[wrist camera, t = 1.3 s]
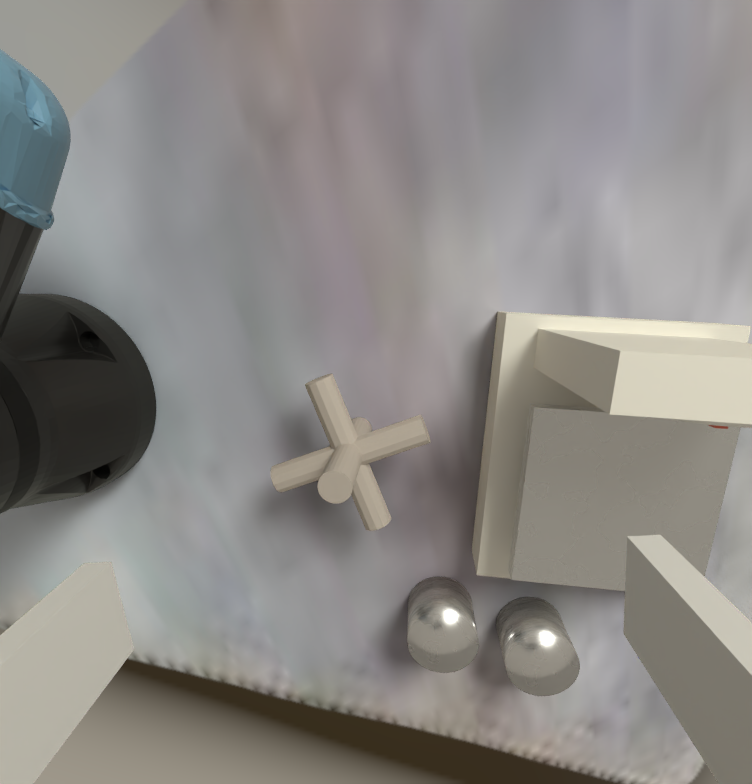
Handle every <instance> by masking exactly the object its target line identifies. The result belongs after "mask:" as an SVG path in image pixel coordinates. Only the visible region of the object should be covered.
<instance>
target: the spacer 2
mask: <svg viewBox="0 0 752 784" xmlns="http://www.w3.org/2000/svg"><path fill="white" fill-rule="evenodd" d="M496 630H497V634H498V638H499V642H500V646H501V650H502V655H503V659H504V663H505V667H506V671H507V674H508V677H509V679H510V680H511V682H512V683H513V684H514V685H515V686H516V687H517V688H519V689H520V690H522V691H524V692H526V693H528V694H532V695H537V696H549V695H554V694H558V693H560V692H562V691H564V690H566V689H567V688H569V687H570V686H571V685H572V684H573V683H574V682H575V680H576V678H577V676H578V674H579V669H580V662H579V658H578V656H577V653H576V651H575V649H574V647H573V644H572V642H571V640H570V638H569V635H568V633H567V631H566V629H565V627H564V624H563V622H562V620H561V618H560V615H559V613H558V612H557V610H556V609H555V608H554V607H553V606H552V605H551V604H550V603H548V602H546V601H545V600H542V599H539V598H535V597H522V598H518V599H515V600H513V601H511V602H509V603H507V604H506V605H505V606H504V607H503V608H502V609H501V610H500V612H499V614H498V616H497V619H496Z"/></svg>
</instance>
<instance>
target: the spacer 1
mask: <svg viewBox="0 0 752 784" xmlns="http://www.w3.org/2000/svg"><path fill="white" fill-rule="evenodd" d="M407 644H408V649H409V652H410V654H411V655H412V657H413V658H414V659H415V661H416V662H417V663H419V664H420V665H421V666H423V667H424V668H426V669H429V670H431V671H435V672H441V673H449V672H455V671H458V670H460V669H463V668H464V667H466V666H467V665H469V664H470V663H471V662H472V661H473V659H474V658H475V656H476V654H477V652H478V647H479V641H478V634H477V629H476V623H475V618H474V612H473V607H472V601H471V597H470V595H469V593H468V591H467V590H466V589H465V587H464V586H463V585H462V584H460V583H459V582H457V581H455V580H453V579H451V578H447V577H430V578H427V579H425V580H422V581H421V582H419V583H418V584H417V585H416V586H415V587H414V588H413V589H412V591H411V593H410V595H409V600H408V630H407Z"/></svg>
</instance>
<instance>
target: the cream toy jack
mask: <svg viewBox="0 0 752 784" xmlns="http://www.w3.org/2000/svg"><path fill="white" fill-rule="evenodd" d="M305 386H306V389H307V391H308V393H309V396H310V398H311V400H312V403H313V405H314V407H315V410H316V412H317V415H318V417H319V419H320V422H321V424H322V426H323V429H324V431H325V434H326V436H327V438H328V441H329V443H330V445H331V446H329V447H326V448H323V449H320V450H318V451H315V452H312V453H309V454H306V455H303V456H300V457H297V458H294V459H292V460H289V461H286V462H283V463H280V464H277V465H274V466H272V468H271V479H272V482H273V485H274V487H275V488H276V490H277V491H279V492H280V493H282V492H284V491H287V490H290V489H293V488H296V487H299V486H302V485H305V484H308V483H311V482H314V481H317V480H319V481H318V492H319V494H320V496H321V497H322V498H323V499H324V500H326V501H327V502H330V503H335V504H338V503H342V502H344V501H346V500H347V499H348V498H349V497H350V495H352V497H353V500H354V502H355V505H356V507H357V509H358V512H359V514H360V516H361V519H362V521H363V523H364V526H365V528H366V530H369V531H374V530H378V529H380V528H383V527H384V526H386V525H387V524H388V523H389V522H390V520H391V516H390V514H389V511H388V509H387V506H386V504H385V501H384V499H383V497H382V494H381V492H380V489H379V487H378V484H377V482H376V479H375V477H374V475H373V472H372V470H371V467H370V465H369V463H371V462H374V461H377V460H380V459H383V458H386V457H389V456H392V455H395V454H398V453H401V452H404V451H407V450H410V449H413V448H416V447H419V446H422V445H425V444H428V443H430V437H429V434H428V431H427V428H426V425H425V423H424V420H423V418H422V416H421V415H418V416H415V417H413V418H410V419H407V420H404V421H401V422H398V423H395V424H392V425H390V426H387V427H384V428H381V429H378V430H375V431H372V427H371V425H370V423H369V422H368V421H367V420H366V419H364V418H360V417H358V418H354V419H352V420H351V418H350V416H349V413H348V411H347V409H346V406H345V404H344V401H343V399H342V396H341V394H340V391H339V389H338V387H337V384H336V382H335V379H334V377H333V374H328V375H325V376H322V377H319V378H317V379H314V380H312V381H310V382H308V383H306V384H305Z"/></svg>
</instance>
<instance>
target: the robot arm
mask: <svg viewBox="0 0 752 784" xmlns="http://www.w3.org/2000/svg"><path fill="white" fill-rule="evenodd" d="M70 141H71V139H70V128H69V123H68V120H67V117H66V114H65V112H64V110H63V108H62V106H61V105H60V103H59V101H58V100H57V98H56V97H55V95H54V94H53V93H52V91H51V90H50V89H49V88H48V87H47V86H46V85H45V84H44V83H43V82H42V81H41V80H40V79H39V78H38V77H36V76H35V75H34V74H33V73H32V72H30V71H29V70H28V69H26V68H25V67H24V66H22V65H21V64H20V63H18V62H17V61H16V60H14V59H13V58H11V57H10V56H9V55H8V54H6V53H5V52H4V51H2V50H1V49H0V514H1V513H3V512H5V511H7V510H9V509H12V508H18V507H23V506H28V505H34V504H39V503H45V502H50V501H56V500H61V499H67V498H72V497H77V496H81V495H84V494H87V493H90V492H92V491H95V490H97V489H99V488H101V487H103V486H105V485H106V484H108V483H110V482H111V481H113V480H115V479H116V478H118V477H119V476H121V475H123V474H124V473H125V472H127V471H128V470H129V469H130V468H131V467H133V466H134V465H135V463H136V462H137V461H138V460H139V459H140V457H141V456H142V455H143V453H144V451H145V450H146V448H147V446H148V444H149V441H150V439H151V436H152V433H153V429H154V424H155V417H156V399H155V392H154V386H153V382H152V379H151V375H150V372H149V370H148V367H147V365H146V363H145V361H144V358H143V357H142V355H141V353H140V351H139V350H138V348H137V347H136V345H135V344H134V342H133V341H132V340H131V338H130V337H129V336H128V335H127V334H126V332H125V331H124V330H123V329H122V328H121V327H120V326H119V325H118V324H117V323H116V322H114V321H113V320H112V319H111V318H110V317H108V316H107V315H106V314H104V313H103V312H101V311H100V310H98V309H96V308H95V307H93V306H91V305H89V304H87V303H84V302H82V301H80V300H77V299H74V298H70V297H66V296H61V295H54V294H19V291H20V289H21V286H22V284H23V281H24V279H25V276H26V273H27V271H28V268H29V266H30V263H31V260H32V258H33V255H34V253H35V250H36V248H37V245H38V242H39V240H40V237H41V235H42V232H43V229H45V230H47V229H49V228H51V226H52V224H53V222H54V216H53V213H52V211H51V209H52V205H53V202H54V199H55V195H56V192H57V189H58V185H59V182H60V179H61V175H62V172H63V169H64V165H65V162H66V159H67V155H68V152H69V148H70ZM624 635H625V637H626V638H627V640H628V641H629V643H630V645H631V646H632V648H633V649H634V651H635V652H636V654H637V656H638V657H639V659H640V660H641V662H642V663H643V665H644V667H645V668H646V670H647V671H648V673H649V674H650V676H651V678H652V679H653V681H654V682H655V684H656V686H657V687H658V689H659V690H660V692H661V693H662V695H663V697H664V698H665V700H666V701H667V703H668V704H669V706H670V708H671V709H672V711H673V712H674V714H675V715H676V717H677V719H678V720H679V722H680V723H681V725H682V727H683V728H684V730H685V731H686V733H687V734H688V736H689V738H690V739H691V741H692V742H693V744H694V745H695V747H696V749H697V750H698V752H699V753H700V755H701V756H702V758H703V760H704V761H705V763H706V764H707V766H708V767H709V769H710V770H711V772H712V774H713V775H714V777H715V778H716V780H717V782H718V783H719V784H752V622H751V621H750V620H749V619H747V618H746V617H745V616H744V615H743V614H742V613H741V612H740V611H739V610H738V609H737V608H736V607H735V606H734V605H733V604H732V603H731V602H730V601H729V600H728V599H727V598H726V597H725V596H724V595H723V594H722V593H720V592H719V591H718V590H717V589H716V588H715V587H714V586H713V585H712V584H711V583H710V582H709V581H708V580H707V579H706V578H705V577H704V576H703V575H702V574H701V573H700V572H699V571H698V570H697V569H696V568H695V567H694V566H692V565H691V564H690V563H689V562H688V561H687V560H686V559H685V558H684V557H683V556H682V555H681V554H680V553H679V552H678V551H677V550H676V549H675V548H674V547H673V546H672V545H671V544H670V543H669V542H668V541H667V540H665V539H664V538H663V537H662V536H661V535H645V536H627V554H626V581H625V608H624ZM133 650H134V647H133V643H132V639H131V636H130V632H129V628H128V624H127V620H126V616H125V613H124V609H123V605H122V601H121V597H120V593H119V590H118V586H117V582H116V578H115V574H114V570H113V567H112V563H111V562H99V563H84V564H83V565H81V566H80V567H79V568H78V569H77V570H76V571H75V572H73V573H72V574H71V575H70V576H69V577H68V578H66V579H65V580H64V581H63V582H62V583H61V584H59V585H58V586H57V587H56V588H55V589H54V590H52V591H51V592H50V593H49V594H48V595H47V596H45V597H44V598H43V599H42V600H41V601H40V602H39V603H37V604H36V605H35V606H34V607H33V608H32V609H30V610H29V611H28V612H27V613H26V614H25V615H23V616H22V617H21V618H20V619H19V620H18V621H16V622H15V623H14V624H13V625H12V626H11V627H9V628H8V629H7V630H6V631H5V632H4V633H3V634H1V635H0V784H34V782H35V781H36V780H37V778H38V777H39V776H40V774H41V773H42V772H43V770H44V769H45V768H46V766H47V765H48V764H49V762H50V761H51V760H52V758H53V757H54V756H55V754H56V753H57V751H58V750H59V749H60V748H61V746H62V745H63V743H64V742H65V741H66V740H67V738H68V737H69V736H70V734H71V733H72V732H73V730H74V729H75V728H76V726H77V725H78V723H79V722H80V721H81V720H82V718H83V717H84V716H85V714H86V713H87V712H88V710H89V709H90V707H91V706H92V705H93V703H94V702H95V701H96V699H97V698H98V697H99V695H100V694H101V693H102V691H103V690H104V689H105V687H106V686H107V685H108V683H109V682H110V681H111V679H112V678H113V677H114V675H115V674H116V673H117V671H118V670H119V669H120V667H121V666H122V665H123V663H124V662H125V661H126V659H127V658H128V657H129V655H130V654H131V653H132V651H133Z"/></svg>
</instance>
